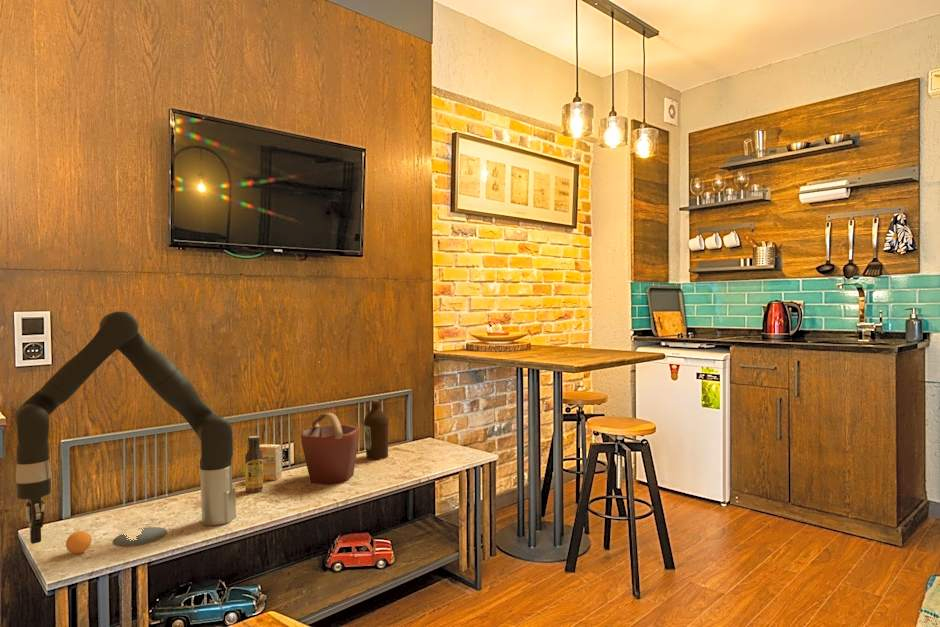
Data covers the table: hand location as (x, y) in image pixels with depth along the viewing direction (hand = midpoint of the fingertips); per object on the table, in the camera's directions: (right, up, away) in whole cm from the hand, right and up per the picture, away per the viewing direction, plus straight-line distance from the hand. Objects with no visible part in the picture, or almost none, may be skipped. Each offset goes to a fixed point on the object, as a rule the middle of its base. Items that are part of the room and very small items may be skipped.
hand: (35, 542), depth 162 cm
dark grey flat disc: (+19, -5, +17) cm, 26 cm away
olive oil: (+76, -2, +102) cm, 127 cm away
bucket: (+63, -3, +72) cm, 96 cm away
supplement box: (+38, -3, +74) cm, 83 cm away
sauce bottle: (+38, -4, +59) cm, 70 cm away
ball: (+7, -3, +7) cm, 10 cm away
